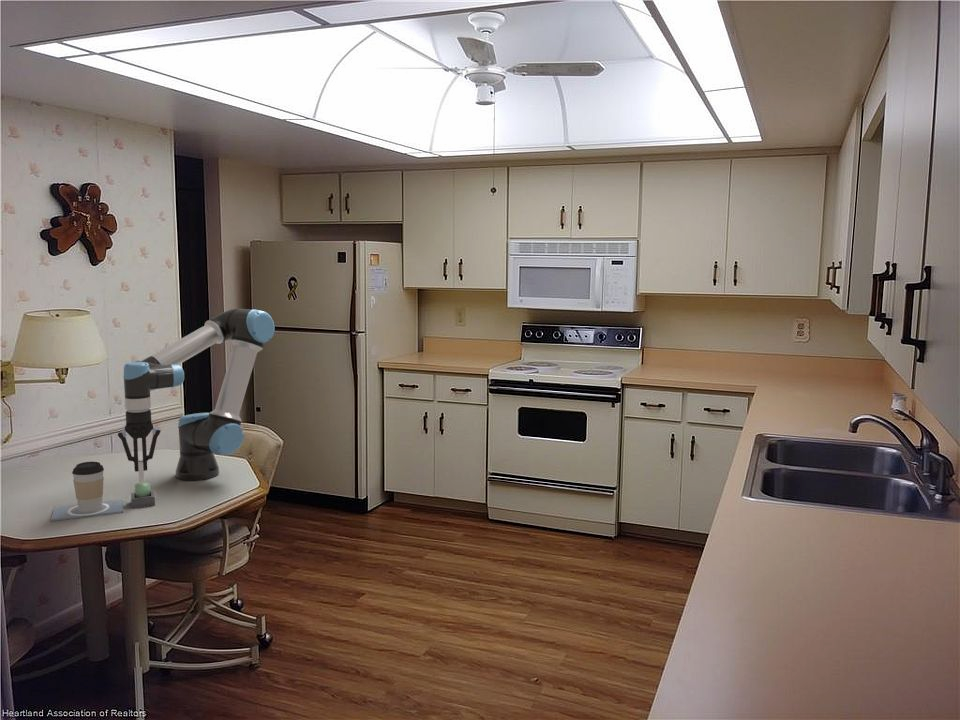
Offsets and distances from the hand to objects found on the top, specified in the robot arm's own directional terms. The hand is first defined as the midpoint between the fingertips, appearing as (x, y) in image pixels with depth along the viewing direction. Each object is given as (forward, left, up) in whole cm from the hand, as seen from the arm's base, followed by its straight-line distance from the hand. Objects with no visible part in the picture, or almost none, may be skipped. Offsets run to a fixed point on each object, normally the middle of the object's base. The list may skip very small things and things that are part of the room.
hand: (141, 480), depth 246 cm
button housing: (0, 0, -8) cm, 8 cm away
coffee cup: (+15, +1, -8) cm, 17 cm away
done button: (0, 0, -5) cm, 5 cm away
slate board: (+16, +1, -8) cm, 18 cm away
